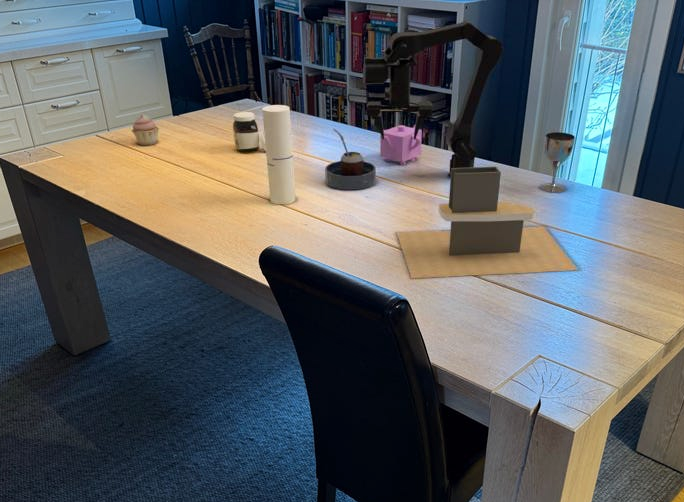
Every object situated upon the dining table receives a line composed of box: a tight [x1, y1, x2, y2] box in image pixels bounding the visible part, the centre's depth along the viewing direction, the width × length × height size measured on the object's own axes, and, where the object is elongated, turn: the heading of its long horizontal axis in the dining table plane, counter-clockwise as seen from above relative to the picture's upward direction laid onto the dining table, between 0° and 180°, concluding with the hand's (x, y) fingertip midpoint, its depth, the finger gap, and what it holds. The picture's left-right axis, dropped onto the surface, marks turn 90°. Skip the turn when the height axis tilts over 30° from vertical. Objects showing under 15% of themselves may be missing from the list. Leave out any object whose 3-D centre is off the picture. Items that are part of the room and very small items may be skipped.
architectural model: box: [396, 166, 579, 279], centre depth 157 cm, size 38×25×20 cm, turn 96°
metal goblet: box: [539, 131, 576, 193], centre depth 193 cm, size 8×8×15 cm
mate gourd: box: [332, 127, 365, 176], centre depth 199 cm, size 8×8×15 cm
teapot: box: [379, 124, 423, 166], centre depth 217 cm, size 15×13×11 cm
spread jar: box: [232, 111, 266, 154], centre depth 227 cm, size 12×11×12 cm
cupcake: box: [131, 113, 160, 146], centre depth 234 cm, size 9×9×10 cm
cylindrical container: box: [261, 104, 297, 205], centre depth 184 cm, size 7×7×25 cm
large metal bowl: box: [324, 160, 377, 191], centre depth 202 cm, size 15×15×4 cm
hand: (398, 139), depth 198 cm, fingers open, 9 cm apart
